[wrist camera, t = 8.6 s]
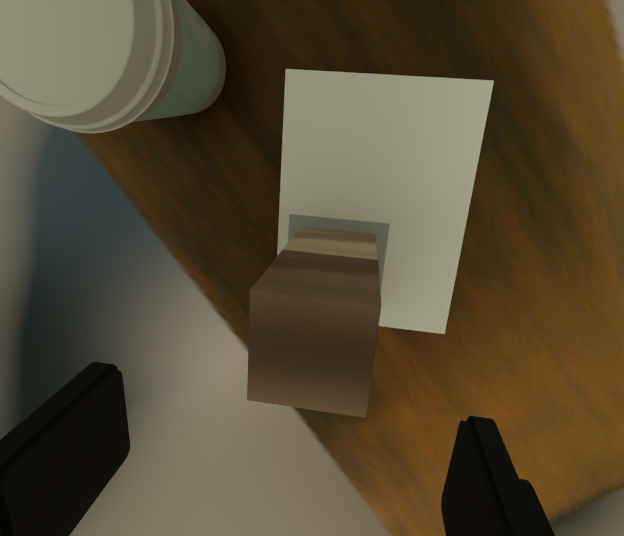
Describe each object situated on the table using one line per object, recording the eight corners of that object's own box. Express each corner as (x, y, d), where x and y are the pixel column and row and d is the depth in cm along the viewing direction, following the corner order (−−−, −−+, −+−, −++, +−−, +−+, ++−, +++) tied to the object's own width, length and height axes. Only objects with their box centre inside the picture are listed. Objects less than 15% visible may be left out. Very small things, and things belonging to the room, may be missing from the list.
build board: (289, 72, 25) (285, 68, 24) (487, 83, 24) (494, 80, 23) (278, 306, 30) (274, 313, 29) (441, 326, 29) (444, 334, 28)
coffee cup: (274, 64, 25) (196, 2, 14) (190, 162, 28) (66, 177, 16) (174, -46, 24) (-1, -212, 13) (97, 67, 27) (-106, 12, 15)
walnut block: (282, 249, 21) (250, 289, 15) (378, 259, 20) (381, 305, 15) (278, 334, 23) (247, 399, 17) (367, 346, 22) (365, 417, 16)
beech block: (300, 227, 27) (281, 250, 21) (375, 234, 26) (377, 260, 20) (296, 296, 28) (277, 335, 23) (367, 304, 28) (366, 347, 22)
